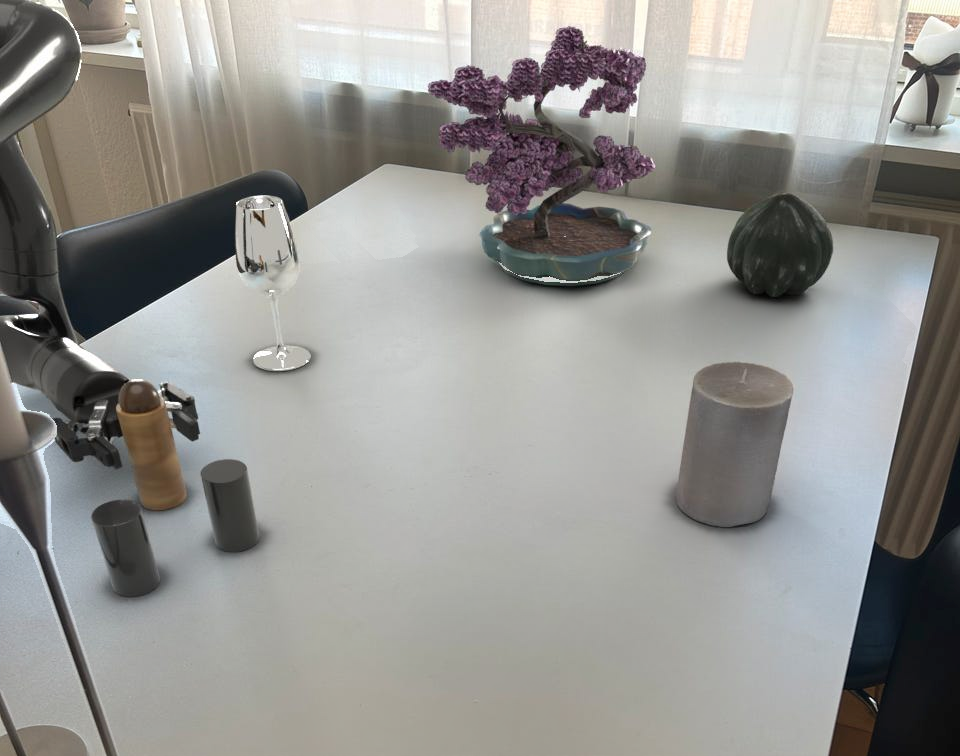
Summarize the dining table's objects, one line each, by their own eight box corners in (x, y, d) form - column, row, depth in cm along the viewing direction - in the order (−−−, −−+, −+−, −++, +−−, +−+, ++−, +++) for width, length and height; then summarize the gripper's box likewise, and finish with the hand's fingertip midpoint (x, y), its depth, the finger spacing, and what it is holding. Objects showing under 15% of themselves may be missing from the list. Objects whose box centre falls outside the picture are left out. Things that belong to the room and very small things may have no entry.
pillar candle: (692, 471, 110) (711, 341, 101) (779, 492, 107) (808, 360, 97) (662, 514, 104) (679, 380, 94) (754, 538, 100) (782, 401, 91)
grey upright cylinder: (229, 557, 99) (214, 487, 93) (207, 538, 101) (192, 469, 96) (267, 540, 101) (255, 471, 96) (245, 522, 103) (232, 454, 98)
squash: (806, 227, 155) (766, 157, 145) (866, 263, 145) (826, 190, 135) (736, 295, 159) (691, 232, 148) (789, 335, 148) (745, 270, 138)
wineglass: (242, 368, 131) (215, 209, 118) (267, 344, 137) (244, 190, 124) (297, 375, 129) (275, 215, 116) (320, 350, 135) (302, 195, 122)
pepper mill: (153, 516, 104) (122, 397, 96) (133, 497, 107) (101, 380, 98) (194, 499, 107) (168, 382, 98) (173, 481, 110) (146, 366, 101)
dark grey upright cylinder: (125, 602, 93) (103, 531, 88) (105, 581, 96) (83, 511, 91) (168, 584, 95) (149, 513, 90) (147, 563, 98) (128, 493, 93)
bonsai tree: (637, 232, 170) (658, 8, 149) (671, 293, 149) (700, 43, 128) (432, 239, 168) (423, 13, 147) (437, 301, 148) (427, 49, 127)
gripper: (15, 379, 105) (80, 436, 95) (140, 341, 112) (212, 390, 103) (36, 442, 110) (100, 502, 100) (155, 402, 117) (225, 455, 107)
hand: (157, 446), depth 101 cm, fingers open, 8 cm apart
